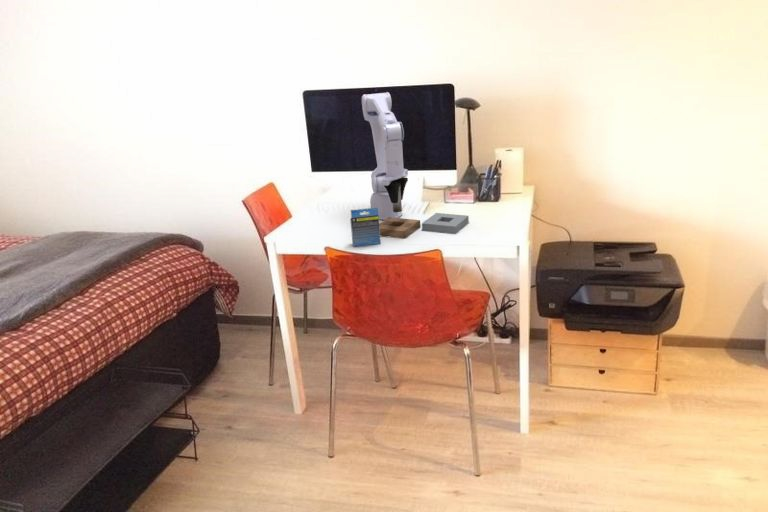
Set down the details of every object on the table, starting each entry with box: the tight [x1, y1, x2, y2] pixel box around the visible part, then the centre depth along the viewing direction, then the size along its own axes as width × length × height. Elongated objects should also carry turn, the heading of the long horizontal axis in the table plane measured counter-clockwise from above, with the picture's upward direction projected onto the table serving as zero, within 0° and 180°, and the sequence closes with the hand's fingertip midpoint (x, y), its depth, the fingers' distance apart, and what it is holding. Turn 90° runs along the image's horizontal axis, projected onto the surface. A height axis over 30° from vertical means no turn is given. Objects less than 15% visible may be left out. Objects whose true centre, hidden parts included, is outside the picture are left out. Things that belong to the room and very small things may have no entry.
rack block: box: [421, 212, 470, 234], centre depth 206 cm, size 12×12×2 cm
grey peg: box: [392, 187, 403, 213], centre depth 201 cm, size 3×3×9 cm
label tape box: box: [349, 207, 381, 248], centre depth 194 cm, size 9×4×12 cm, turn 98°
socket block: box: [379, 217, 422, 239], centre depth 205 cm, size 12×12×2 cm
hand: (396, 201), depth 202 cm, fingers closed on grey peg, 3 cm apart
